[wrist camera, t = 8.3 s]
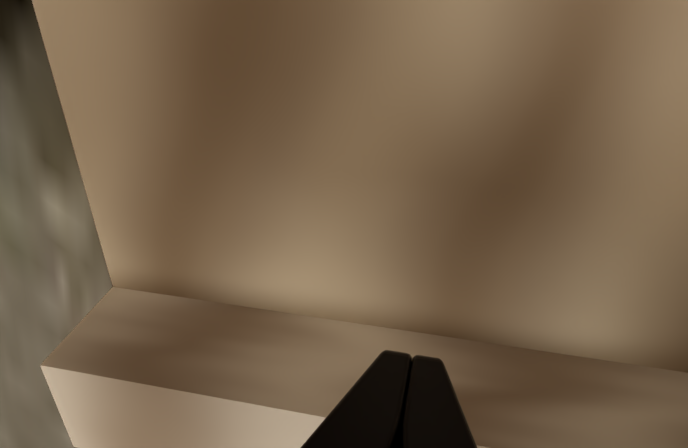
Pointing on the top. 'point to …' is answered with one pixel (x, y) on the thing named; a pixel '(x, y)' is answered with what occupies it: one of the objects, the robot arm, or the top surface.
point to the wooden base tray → (377, 214)
